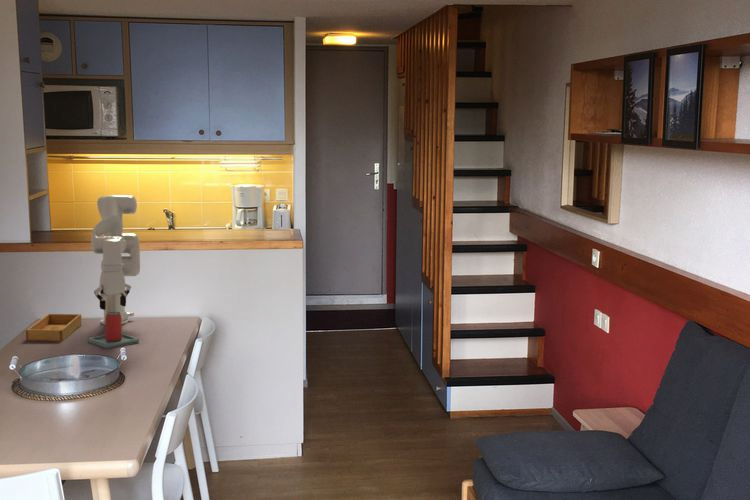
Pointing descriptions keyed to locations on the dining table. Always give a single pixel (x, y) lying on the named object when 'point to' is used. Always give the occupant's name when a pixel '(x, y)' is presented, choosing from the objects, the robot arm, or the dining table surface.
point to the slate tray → (106, 344)
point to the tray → (53, 327)
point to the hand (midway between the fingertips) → (113, 307)
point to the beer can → (113, 326)
